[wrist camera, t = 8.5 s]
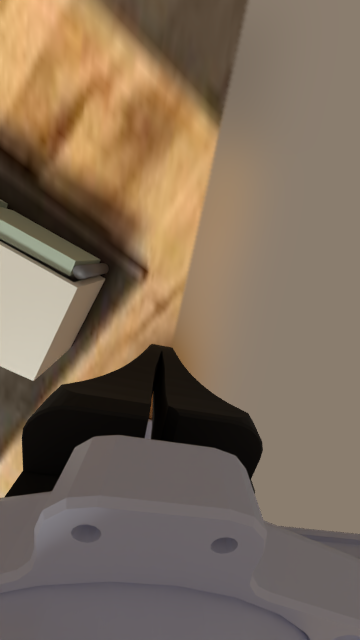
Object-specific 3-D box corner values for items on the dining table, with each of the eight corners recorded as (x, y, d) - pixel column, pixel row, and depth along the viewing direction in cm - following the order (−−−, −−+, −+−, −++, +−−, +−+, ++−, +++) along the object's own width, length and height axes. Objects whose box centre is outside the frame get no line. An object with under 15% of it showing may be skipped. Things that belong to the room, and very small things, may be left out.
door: (105, 276, 19) (83, 283, 14) (9, 223, 17) (-53, 210, 13) (114, 257, 19) (94, 257, 14) (16, 200, 17) (-46, 178, 12)
